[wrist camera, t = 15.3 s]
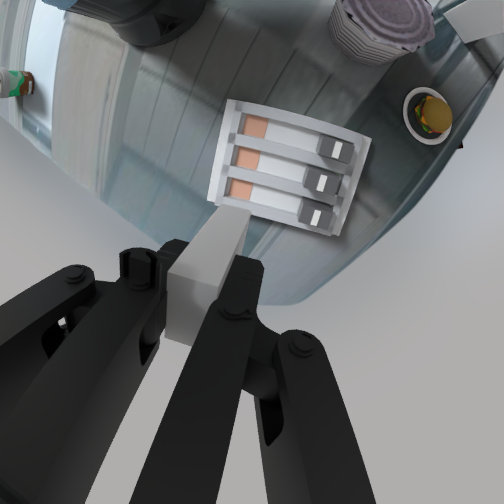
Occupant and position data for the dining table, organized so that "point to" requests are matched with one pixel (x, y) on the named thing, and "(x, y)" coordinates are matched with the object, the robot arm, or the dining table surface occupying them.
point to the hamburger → (430, 115)
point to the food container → (15, 83)
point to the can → (380, 28)
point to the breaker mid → (320, 180)
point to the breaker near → (335, 149)
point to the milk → (477, 19)
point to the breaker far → (314, 213)
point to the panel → (280, 164)
